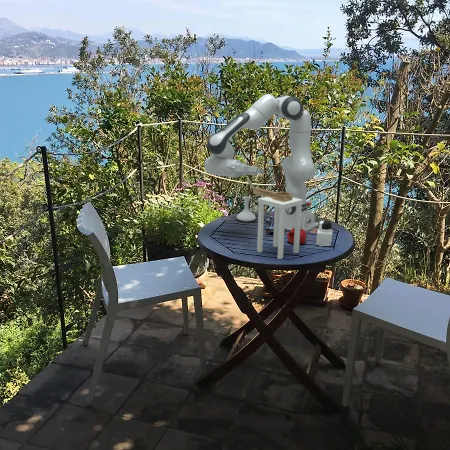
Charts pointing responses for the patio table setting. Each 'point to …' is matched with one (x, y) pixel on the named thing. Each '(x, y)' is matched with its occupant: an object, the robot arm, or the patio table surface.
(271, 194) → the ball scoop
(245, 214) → the flower in vase
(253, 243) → the patio table surface
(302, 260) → the patio table surface
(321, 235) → the medicine bottle
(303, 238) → the pomegranate
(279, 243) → the tall stand
